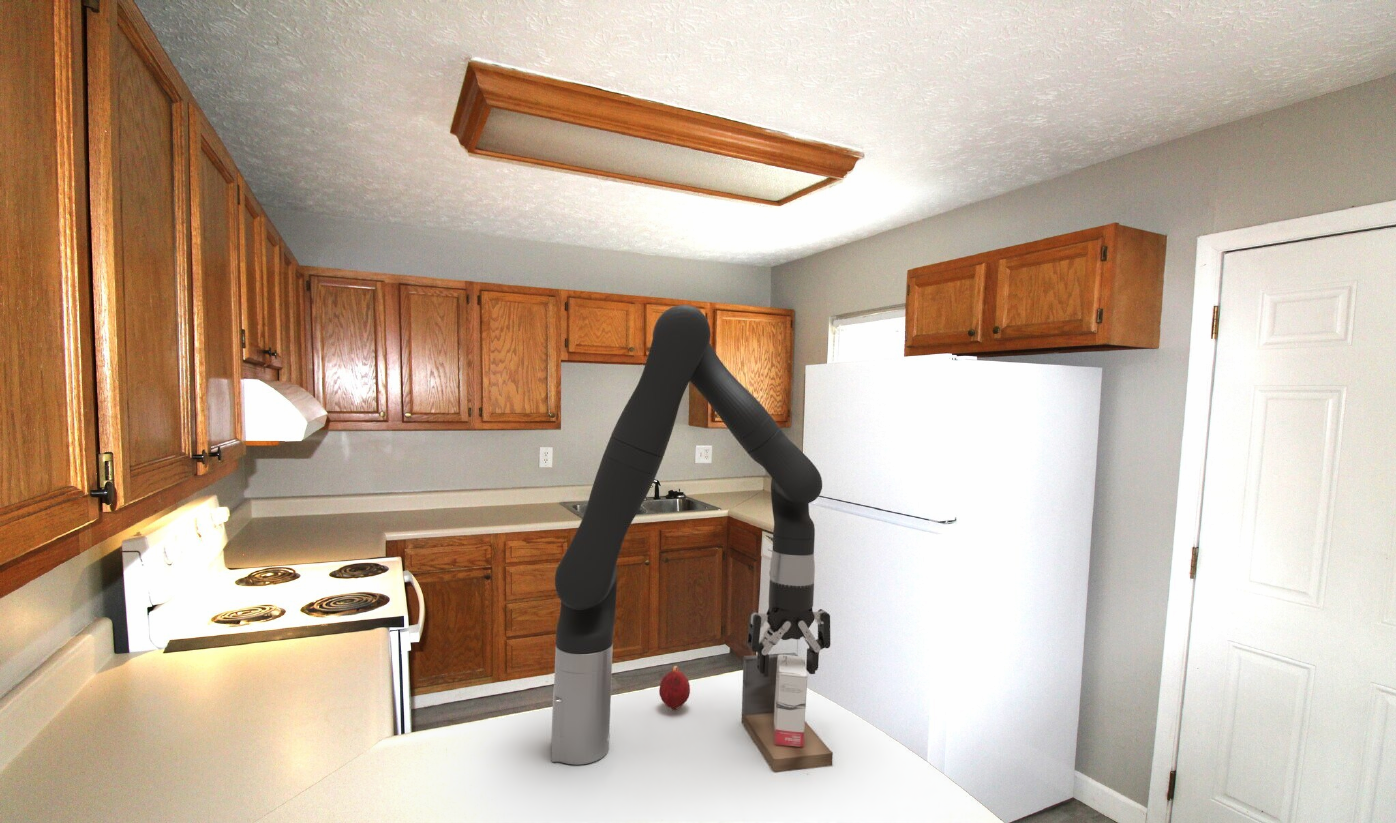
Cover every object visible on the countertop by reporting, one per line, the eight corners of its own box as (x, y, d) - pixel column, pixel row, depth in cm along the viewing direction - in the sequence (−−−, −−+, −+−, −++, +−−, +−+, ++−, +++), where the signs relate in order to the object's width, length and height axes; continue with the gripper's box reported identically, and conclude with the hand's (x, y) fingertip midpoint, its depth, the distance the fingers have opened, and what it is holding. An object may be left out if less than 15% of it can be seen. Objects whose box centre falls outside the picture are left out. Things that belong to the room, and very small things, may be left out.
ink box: (805, 749, 99) (808, 675, 99) (774, 746, 99) (776, 672, 99) (802, 722, 107) (804, 654, 107) (773, 720, 108) (775, 652, 108)
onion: (688, 717, 112) (690, 673, 112) (657, 716, 112) (659, 672, 112) (689, 703, 118) (691, 661, 118) (659, 701, 118) (661, 660, 118)
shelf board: (773, 772, 95) (776, 694, 95) (741, 722, 111) (743, 655, 111) (832, 765, 98) (834, 690, 98) (792, 717, 113) (794, 652, 113)
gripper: (760, 584, 98) (755, 686, 98) (840, 583, 102) (836, 680, 102) (745, 573, 106) (740, 667, 105) (820, 571, 109) (816, 663, 109)
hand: (787, 673), depth 104 cm, fingers open, 8 cm apart
